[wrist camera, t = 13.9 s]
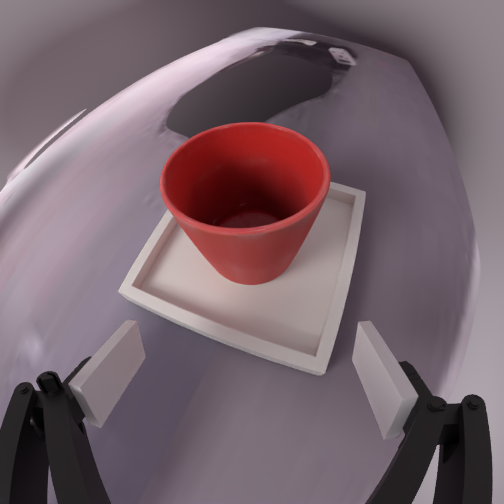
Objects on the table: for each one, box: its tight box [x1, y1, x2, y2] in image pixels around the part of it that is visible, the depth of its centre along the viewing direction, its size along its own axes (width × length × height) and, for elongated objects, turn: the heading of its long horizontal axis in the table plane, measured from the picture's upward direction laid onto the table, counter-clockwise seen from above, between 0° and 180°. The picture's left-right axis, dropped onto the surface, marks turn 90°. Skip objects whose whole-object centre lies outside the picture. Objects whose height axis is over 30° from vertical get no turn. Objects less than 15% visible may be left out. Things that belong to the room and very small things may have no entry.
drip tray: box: [118, 182, 366, 376], centre depth 24 cm, size 18×18×2 cm
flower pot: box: [160, 122, 331, 285], centre depth 20 cm, size 11×11×10 cm
